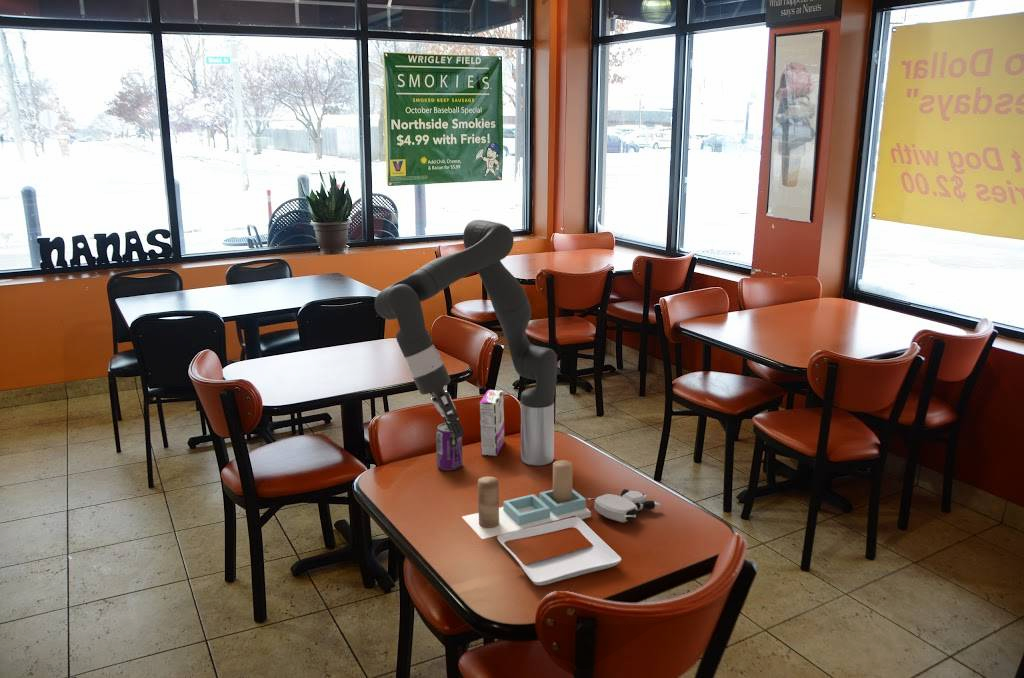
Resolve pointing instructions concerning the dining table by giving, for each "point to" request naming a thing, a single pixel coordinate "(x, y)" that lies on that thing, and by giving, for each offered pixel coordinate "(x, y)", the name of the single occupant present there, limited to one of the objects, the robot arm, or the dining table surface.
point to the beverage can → (448, 449)
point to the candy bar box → (492, 422)
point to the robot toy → (622, 505)
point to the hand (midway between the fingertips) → (457, 432)
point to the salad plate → (568, 562)
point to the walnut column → (488, 502)
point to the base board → (537, 506)
